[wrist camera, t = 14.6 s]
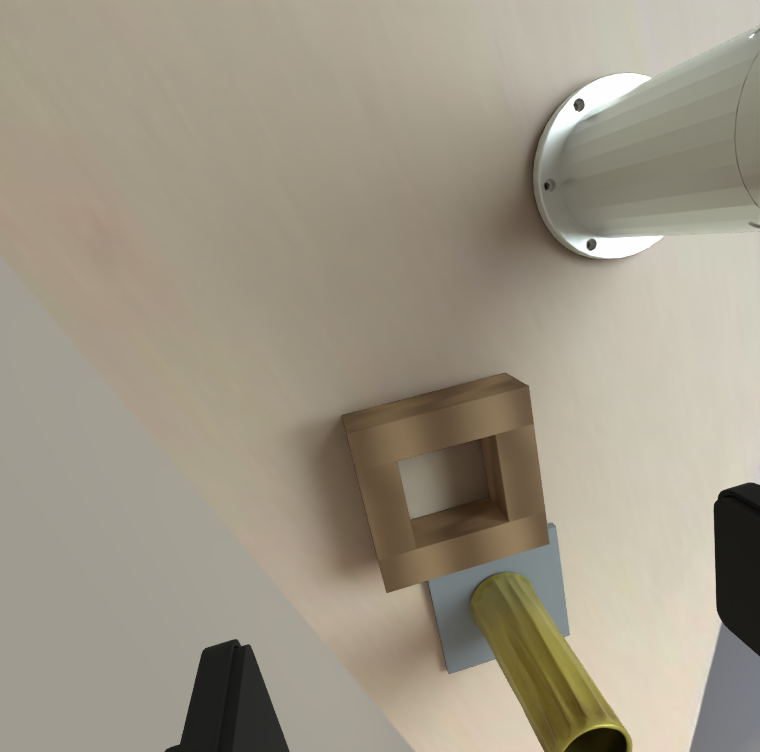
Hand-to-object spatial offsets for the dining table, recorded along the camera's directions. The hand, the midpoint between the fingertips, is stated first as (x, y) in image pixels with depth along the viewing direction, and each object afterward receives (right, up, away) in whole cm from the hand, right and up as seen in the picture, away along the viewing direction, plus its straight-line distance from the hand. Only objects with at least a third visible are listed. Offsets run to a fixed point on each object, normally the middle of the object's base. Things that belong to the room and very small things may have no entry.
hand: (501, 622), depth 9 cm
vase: (+9, -15, +35) cm, 39 cm away
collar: (+3, -3, +31) cm, 31 cm away
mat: (+8, -15, +35) cm, 39 cm away
